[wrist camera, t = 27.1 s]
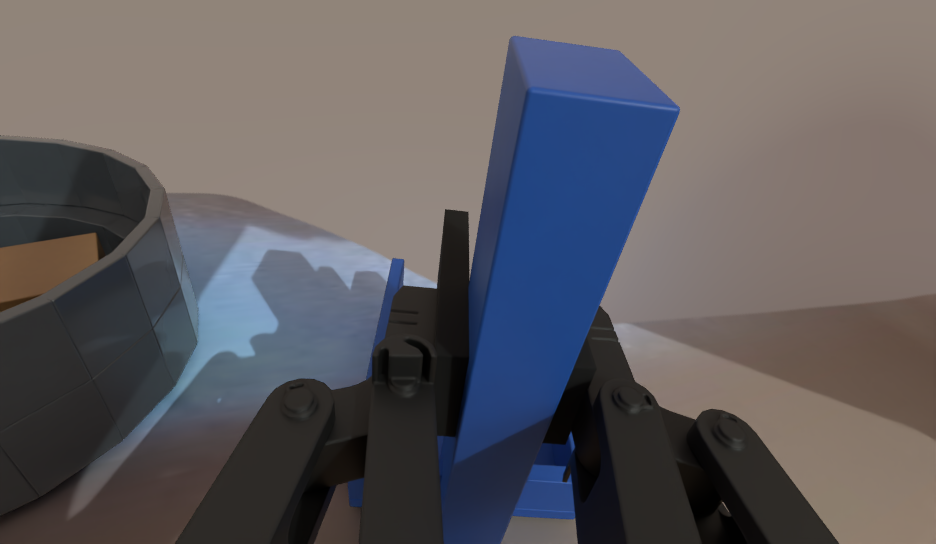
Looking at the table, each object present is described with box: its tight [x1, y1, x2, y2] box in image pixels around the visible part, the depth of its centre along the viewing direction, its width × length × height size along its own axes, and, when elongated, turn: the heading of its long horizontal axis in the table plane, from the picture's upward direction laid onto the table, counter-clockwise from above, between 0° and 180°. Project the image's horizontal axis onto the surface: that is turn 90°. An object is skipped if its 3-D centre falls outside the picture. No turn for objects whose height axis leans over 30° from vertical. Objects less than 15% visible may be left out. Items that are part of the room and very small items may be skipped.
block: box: [0, 233, 106, 312], centre depth 19 cm, size 4×4×4 cm
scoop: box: [348, 36, 680, 544], centre depth 15 cm, size 12×8×15 cm, turn 1°
